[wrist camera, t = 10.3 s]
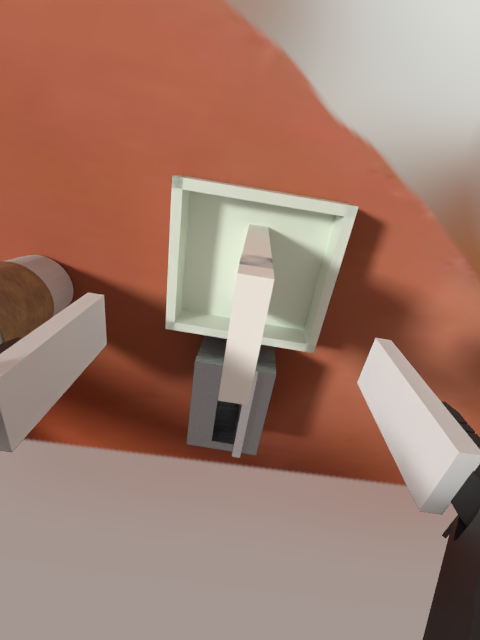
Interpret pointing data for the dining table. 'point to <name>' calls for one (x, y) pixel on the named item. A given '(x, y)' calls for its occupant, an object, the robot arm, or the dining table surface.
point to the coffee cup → (31, 294)
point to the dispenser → (224, 417)
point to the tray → (227, 246)
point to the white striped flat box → (247, 316)
